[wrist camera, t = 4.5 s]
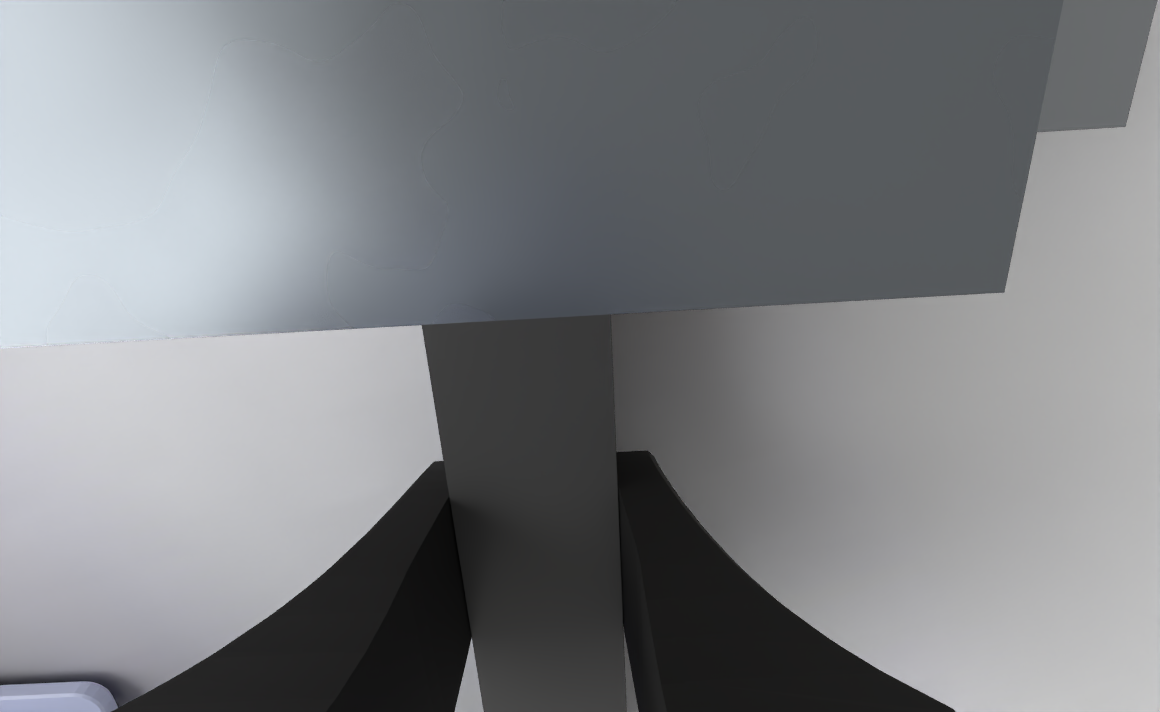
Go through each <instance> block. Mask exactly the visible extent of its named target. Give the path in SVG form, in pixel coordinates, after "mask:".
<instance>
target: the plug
mask: <svg viewBox="0 0 1160 712" xmlns="http://www.w3.org/2000/svg"><path fill="white" fill-rule="evenodd" d="M422 329H423V335H424V341H425V348H426V354H427V360H428V366H429V372H430V379H431V385H432V391H433V397H434V404H435V410H436V416H437V422H438V429H439V435H440V441H441V447H442V454H443V460H444V466H445V472H446V479H447V485H448V491H449V497H450V504H451V510H452V516H453V522H454V528H455V535H456V541H457V547H458V553H459V560H460V566H461V572H462V578H463V585H464V591H465V597H466V603H467V610H468V616H469V622H470V628H471V635H472V641H473V647H474V653H475V659H476V666H477V672H478V678H479V684H480V691H481V697H482V703H483V709H484V712H627V709H626V685H625V660H624V635H623V610H622V586H621V561H620V536H619V511H618V486H617V462H616V437H615V412H614V387H613V363H612V338H611V314H608V315H591V316H573V317H555V318H537V319H519V320H501V321H483V322H465V323H447V324H429V325H422Z"/></svg>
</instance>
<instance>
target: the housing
mask: <svg viewBox="0 0 1160 712" xmlns="http://www.w3.org/2000/svg"><path fill="white" fill-rule="evenodd" d="M1156 4H1157V0H0V348H17V347H35V346H53V345H70V344H88V343H106V342H124V341H142V340H160V339H178V338H196V337H214V336H232V335H250V334H268V333H286V332H304V331H322V330H339V329H357V328H375V327H393V326H411V325H429V324H447V323H465V322H483V321H501V320H519V319H537V318H555V317H573V316H591V315H608V314H626V313H644V312H662V311H680V310H698V309H716V308H734V307H752V306H770V305H788V304H806V303H824V302H842V301H860V300H877V299H895V298H913V297H931V296H949V295H967V294H985V293H1003V292H1004V291H1005V286H1006V281H1007V277H1008V272H1009V267H1010V262H1011V257H1012V252H1013V247H1014V242H1015V237H1016V232H1017V227H1018V222H1019V217H1020V213H1021V208H1022V203H1023V198H1024V193H1025V188H1026V183H1027V178H1028V173H1029V168H1030V163H1031V158H1032V153H1033V149H1034V144H1035V139H1036V134H1037V132H1047V131H1064V130H1080V129H1097V128H1114V127H1125V126H1126V122H1127V118H1128V114H1129V110H1130V107H1131V103H1132V99H1133V95H1134V91H1135V87H1136V83H1137V79H1138V75H1139V71H1140V67H1141V63H1142V59H1143V55H1144V51H1145V47H1146V43H1147V39H1148V35H1149V31H1150V27H1151V23H1152V19H1153V15H1154V11H1155V8H1156Z"/></svg>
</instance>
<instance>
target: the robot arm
mask: <svg viewBox="0 0 1160 712" xmlns="http://www.w3.org/2000/svg"><path fill="white" fill-rule="evenodd" d="M616 462H617V486H618V511H619V536H620V561H621V586H622V610H623V626H624V632H625V637H626V643H627V649H628V654H629V660H630V665H631V671H632V676H633V682H634V688H635V693H636V699H637V704H638V710H639V712H955V710H954V709H952V708H950V707H948V706H946V705H945V704H943V703H941V702H939V701H937V700H935V699H933V698H931V697H929V696H927V695H926V694H924V693H922V692H920V691H918V690H916V689H914V688H912V687H910V686H908V685H907V684H905V683H903V682H901V681H899V680H897V679H895V678H893V677H891V676H889V675H888V674H886V673H884V672H882V671H880V670H879V669H877V668H875V667H873V666H872V665H870V664H869V663H867V662H865V661H864V660H862V659H860V658H859V657H857V656H856V655H854V654H852V653H851V652H849V651H848V650H846V649H844V648H843V647H841V646H839V645H838V644H836V643H835V642H833V641H832V640H830V639H829V638H827V637H826V636H824V635H823V634H822V633H820V632H819V631H817V630H816V629H815V628H813V627H812V626H811V625H809V624H808V623H807V622H805V621H804V620H802V619H801V618H800V617H798V616H797V615H796V614H794V613H793V612H791V611H790V610H789V609H787V608H786V607H785V606H784V605H782V604H781V603H780V602H779V601H777V600H776V599H775V598H774V597H773V596H771V595H770V594H769V593H768V592H767V591H766V590H764V589H763V588H762V587H761V586H760V585H759V584H758V583H757V582H756V581H754V580H753V579H752V578H751V577H750V576H749V575H748V574H747V573H746V572H745V571H744V570H743V569H742V568H741V567H740V566H739V565H738V564H737V563H736V562H735V561H734V560H733V559H732V558H731V557H730V556H729V555H728V554H727V553H726V552H725V551H724V550H723V549H722V548H721V547H720V546H719V544H718V543H717V542H716V541H715V540H714V539H713V538H712V537H711V536H710V534H709V533H708V532H707V531H706V530H705V529H704V528H703V526H702V525H701V524H700V523H699V521H698V520H697V519H696V518H695V516H694V515H693V514H692V513H691V511H690V510H689V509H688V508H687V506H686V505H685V504H684V502H683V501H682V500H681V498H680V497H679V496H678V494H677V493H676V492H675V490H674V489H673V487H672V486H671V484H670V483H669V481H668V480H667V478H666V477H665V475H664V474H663V472H662V470H661V469H660V467H659V465H658V463H657V462H656V460H655V458H654V456H653V455H652V454H651V453H650V452H648V451H631V452H616ZM471 637H472V635H471V628H470V622H469V616H468V610H467V603H466V597H465V591H464V585H463V578H462V572H461V566H460V560H459V553H458V547H457V541H456V535H455V528H454V522H453V516H452V510H451V504H450V497H449V491H448V485H447V479H446V472H445V466H444V461H435V462H433V463H432V464H431V465H430V466H429V467H428V468H427V470H426V471H425V472H424V473H423V474H422V475H421V476H420V477H419V478H418V479H417V480H416V481H415V482H414V483H413V485H412V486H411V487H410V488H409V489H408V490H407V491H406V492H405V493H404V495H403V496H402V497H401V498H400V499H399V500H398V501H397V502H396V503H395V504H394V505H393V506H392V508H391V509H390V510H389V511H388V512H387V513H386V514H385V515H384V516H383V517H382V518H381V519H380V520H379V521H378V522H377V523H376V524H375V525H374V526H373V527H372V528H371V529H370V531H369V532H368V533H367V534H366V535H365V536H364V537H363V538H361V539H360V540H359V541H358V542H357V543H356V544H355V545H354V546H353V547H352V548H351V549H350V550H349V551H348V552H347V553H346V554H344V555H343V556H342V557H341V558H340V559H339V560H338V561H337V562H336V563H335V564H334V565H333V566H332V567H331V568H329V569H328V570H327V571H326V572H325V573H324V574H323V575H321V576H320V577H319V578H318V579H317V580H315V581H314V582H313V583H312V584H311V585H309V586H308V587H307V588H306V589H304V590H303V591H302V592H301V593H299V594H298V595H297V596H295V597H294V598H293V599H292V600H290V601H289V602H288V603H286V604H285V605H284V606H283V607H281V608H280V609H279V610H277V611H276V612H275V613H273V614H272V615H270V616H269V617H268V618H266V619H265V620H263V621H262V622H260V623H259V624H257V625H256V626H254V627H253V628H251V629H250V630H248V631H247V632H245V633H244V634H242V635H241V636H240V637H238V638H237V639H235V640H234V641H232V642H231V643H229V644H228V645H226V646H225V647H223V648H222V649H220V650H219V651H217V652H216V653H214V654H213V655H211V656H209V657H208V658H206V659H205V660H203V661H201V662H200V663H198V664H196V665H194V666H193V667H191V668H189V669H188V670H186V671H184V672H183V673H181V674H179V675H178V676H176V677H174V678H172V679H171V680H169V681H167V682H165V683H164V684H162V685H160V686H158V687H156V688H155V689H153V690H151V691H149V692H148V693H146V694H144V695H142V696H140V697H138V698H136V699H135V700H133V701H131V702H129V703H127V704H125V705H123V706H121V707H119V708H118V706H117V704H116V702H115V700H114V698H113V696H112V694H111V693H110V691H109V690H108V689H107V688H105V687H104V686H102V685H100V684H98V683H95V682H88V681H79V682H58V683H36V684H15V685H0V712H454V711H455V707H456V702H457V698H458V694H459V689H460V685H461V681H462V676H463V672H464V668H465V664H466V659H467V655H468V651H469V646H470V642H471Z"/></svg>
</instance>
